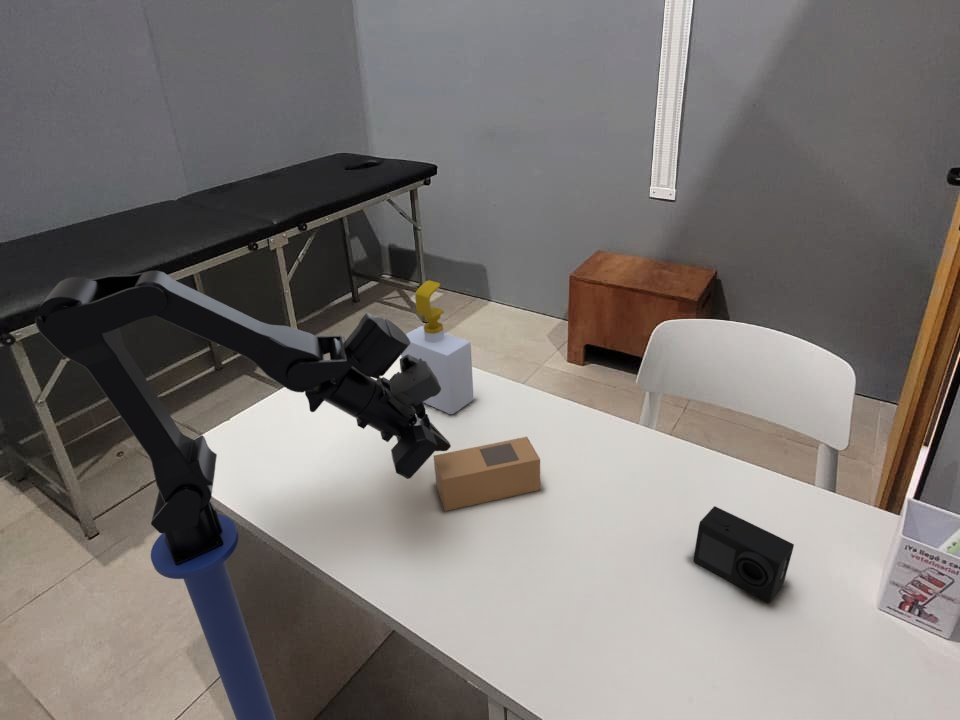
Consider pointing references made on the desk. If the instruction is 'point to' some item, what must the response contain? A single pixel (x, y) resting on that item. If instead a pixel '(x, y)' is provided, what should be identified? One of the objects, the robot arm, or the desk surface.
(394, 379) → the robot arm
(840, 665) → the desk surface
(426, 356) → the soap bottle
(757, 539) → the digital camera
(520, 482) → the carton
